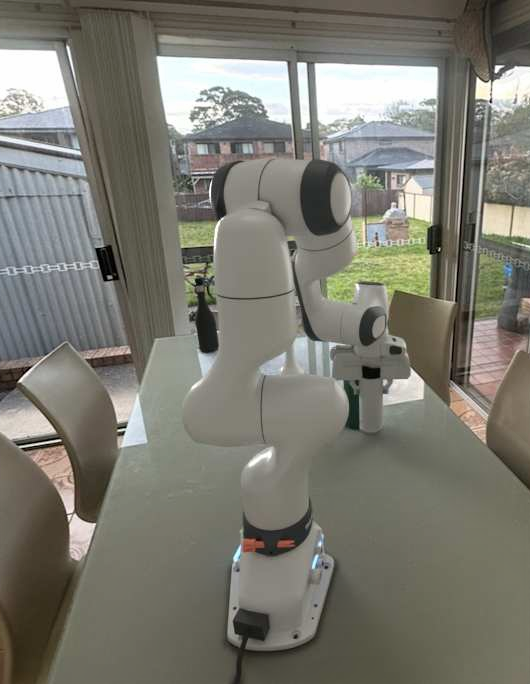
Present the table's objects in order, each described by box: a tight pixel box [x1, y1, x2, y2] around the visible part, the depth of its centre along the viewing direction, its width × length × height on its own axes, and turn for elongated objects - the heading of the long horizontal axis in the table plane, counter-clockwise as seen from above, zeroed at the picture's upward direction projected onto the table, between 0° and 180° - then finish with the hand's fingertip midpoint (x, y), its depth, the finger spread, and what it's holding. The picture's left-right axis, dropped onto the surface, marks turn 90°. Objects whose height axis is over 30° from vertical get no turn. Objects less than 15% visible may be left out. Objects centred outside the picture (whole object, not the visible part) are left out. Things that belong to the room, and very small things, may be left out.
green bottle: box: [342, 380, 360, 430], centre depth 125 cm, size 7×7×19 cm
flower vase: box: [277, 312, 306, 375], centre depth 150 cm, size 13×18×25 cm
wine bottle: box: [194, 276, 219, 353], centre depth 177 cm, size 8×8×30 cm
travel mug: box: [359, 366, 384, 437], centre depth 116 cm, size 6×7×20 cm
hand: (371, 393), depth 115 cm, fingers closed on travel mug, 6 cm apart
